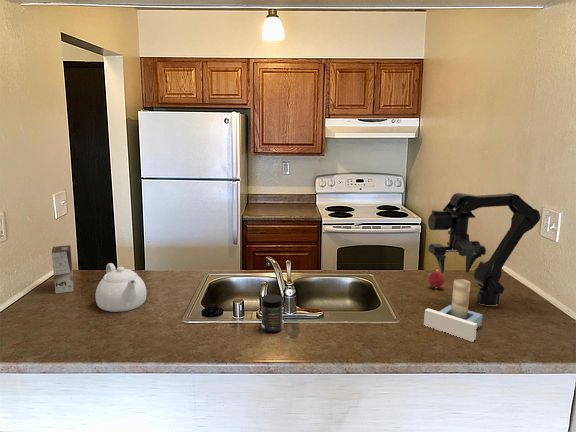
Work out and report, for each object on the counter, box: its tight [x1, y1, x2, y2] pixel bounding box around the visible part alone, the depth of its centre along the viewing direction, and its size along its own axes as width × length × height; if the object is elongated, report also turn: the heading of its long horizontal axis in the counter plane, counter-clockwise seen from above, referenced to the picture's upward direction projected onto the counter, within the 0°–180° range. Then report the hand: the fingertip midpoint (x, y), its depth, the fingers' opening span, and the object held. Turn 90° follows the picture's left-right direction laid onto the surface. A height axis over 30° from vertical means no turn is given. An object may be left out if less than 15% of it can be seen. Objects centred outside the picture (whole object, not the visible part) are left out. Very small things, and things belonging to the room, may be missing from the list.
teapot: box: [95, 262, 147, 313], centre depth 164 cm, size 19×18×14 cm
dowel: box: [451, 278, 472, 320], centre depth 148 cm, size 5×5×14 cm
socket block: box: [438, 304, 483, 329], centre depth 149 cm, size 11×11×4 cm
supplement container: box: [260, 293, 284, 334], centre depth 145 cm, size 7×7×10 cm
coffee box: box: [51, 244, 74, 294], centre depth 176 cm, size 9×6×16 cm
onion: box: [428, 269, 445, 288], centre depth 183 cm, size 6×6×8 cm
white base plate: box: [423, 307, 478, 343], centre depth 150 cm, size 20×16×6 cm
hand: (454, 272), depth 164 cm, fingers open, 9 cm apart
